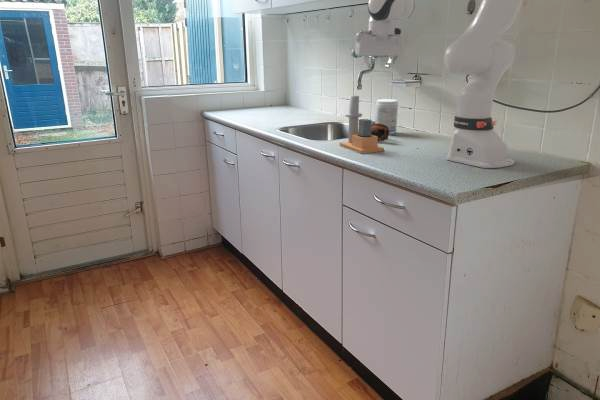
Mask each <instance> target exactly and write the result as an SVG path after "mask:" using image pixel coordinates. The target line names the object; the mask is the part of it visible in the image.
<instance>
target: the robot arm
mask: <svg viewBox="0 0 600 400" xmlns="http://www.w3.org/2000/svg"><path fill="white" fill-rule="evenodd" d="M523 1H524V0H482V1H481V3H480V5H479V8H478V11H477V12H476V14H475V16H474V18H473V19H472V21H471V23H470V24H469V26H468V27H467V28H466V29H465V31H464V32H463V33H462V34H461V35H460V36H459V37H458V38H457V39H456V40H454V41H453V42H451V43H450V44H449V45H448V46H447V47H446V49H445V51H444V56H443V62H444V65H445V68H446V69H447V71H448V72H450V73H453V74H457V75H461V76H469V75H470V78H469V80H468V82H467V83H466V85H465V86H464V87H463V88H461V90H460V91H459V92H458V95H457V102H456V103H457V104H456V113H455V116H454V117H453V118H454V120H453V127H454V129H453V132H452V137H451V140H450V146H449V149H448V153H447V155H446V160H447V161H450V162H454V163H458V164H459V163H461V164H465V165H470V166H474V167H478V168H482V169H494V168H495V169H498V168H504V167H505V168H506V167H509V166H512V165H514V164H515V160H514V159H511V158H510V157H509V158H508V156H509V155H508V151H509V149H508V145H507V143H506V142H505V141H504V140H503V139H502V138H501V137H500V136H499V134H498V133H497V132H496V130H494V129H495V128H494V126H496V125H497V122H498V121H497V120H494V121H493V119H492V116H491V115H492V108H493V104H494V103H493V101H494V97H495V92H496V90H497V86H498V84H499V83H500V81H501V78H502V77H503V76H504V74H505V72H507V71H508V70H509V69H510V68H511V67H512V65H513V64H514V62H515V58H516V49H515V47H514V46H513V44H512V43H511V42H509V41H506V40H502V39H499V37H500V36H501V35H502V34H503V33H504V32H506V31H507V30H508V29H510V28H511V27H512V26H513V24H514V23H515V21H516V18H517V15H518V14H519V11H520V9H521V6H522V3H523ZM415 5H416V4H415V0H368V1H367V10H368V13H369V16H370V17H369V19H368V30H367V29H366V30H360V31H358V33H357V34H356V39H355V40H356V43H355V50H354V53H355V56H356V57H362V58H363V61H364V64H365V69H372V62H370V61H369V59H370V57H375V56H377V57H379V56H382V57H383V56H388V57H387V58H388V61H387V62H386V63H385V68H390V69H391V68H392V63H393V61H394V60H395V56H401V55H402V53H404V39H403V36H402V35H403V34H404V31H403V29H402V28H399V27H397V26H395V25H393V21H404V20H407V19H409V18H410V17H411V16H412V14H413V13H414V10H415V7H416V6H415Z"/></svg>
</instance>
